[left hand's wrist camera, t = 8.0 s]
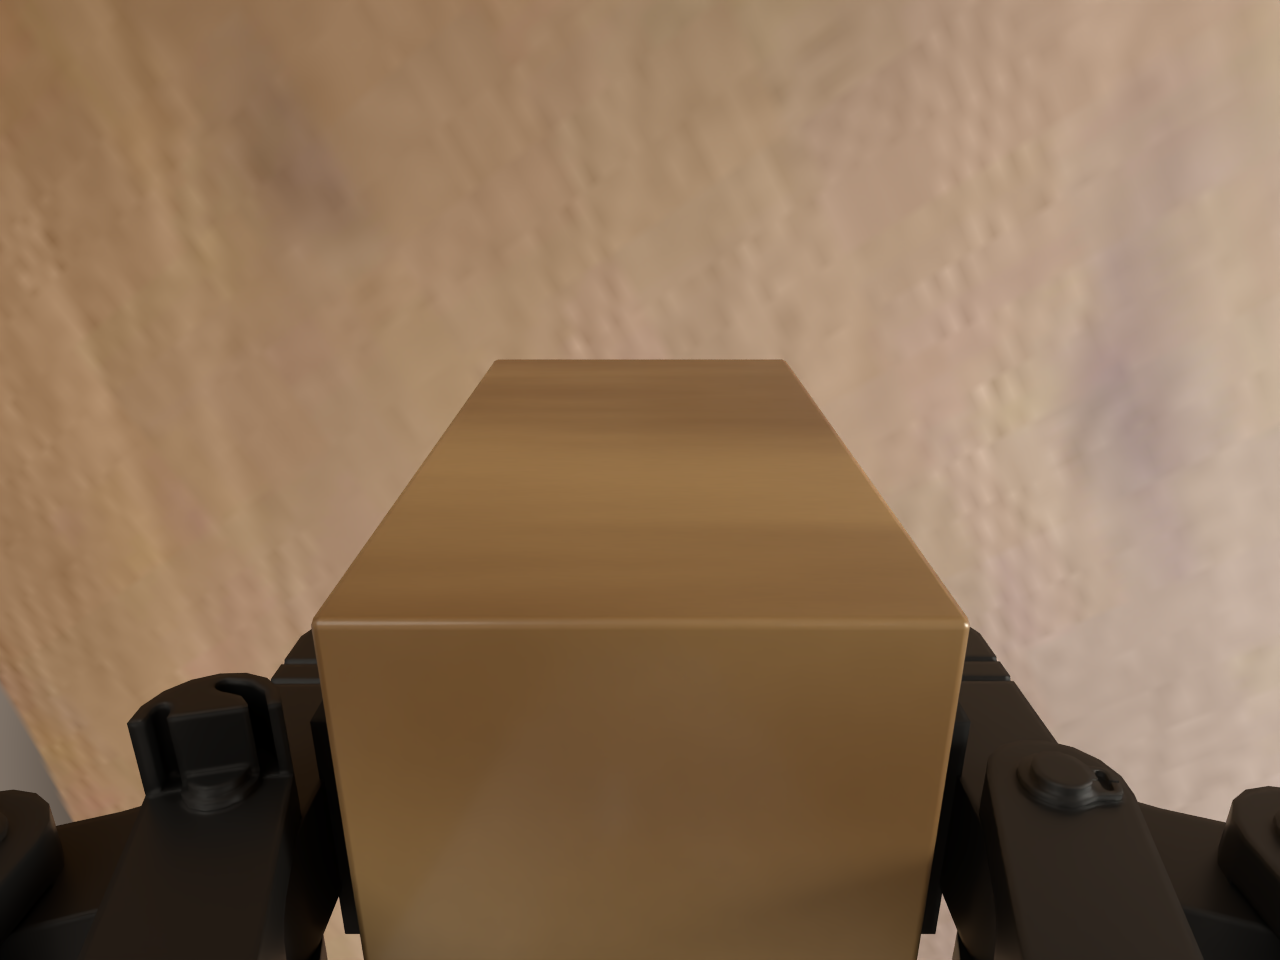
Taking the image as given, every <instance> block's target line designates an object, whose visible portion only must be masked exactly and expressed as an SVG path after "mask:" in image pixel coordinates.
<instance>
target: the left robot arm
mask: <svg viewBox="0 0 1280 960" xmlns="http://www.w3.org/2000/svg"><path fill="white" fill-rule="evenodd" d="M127 725H128V729H129V733H130V737H131V741H132V745H133V749H134V752H135V756H136V760H137V764H138V768H139V772H140V776H141V779H142V783H143V787H144V791H145V795H146V796H145V799H144V801H143V804H142V806H140V807H136V808H133V809H129V810H126V811H122V812H118V813H114V814H109V815H104V816H100V817H95V818H91V819H86V820H82V821H77V822H72V823H68V824H64V825H59V826H56V825H55V822H54V818H53V815H52V812H51V809H50V806H49V804H48V803H47V802H46V801H45V800H44V799H42V798H41V797H40V796H39V795H38V794H36V793H31V792H25V791H18V790H7V791H0V960H327V953H326V947H325V941H324V935H323V934H324V931H325V929H326V926H327V924H328V921H329V919H330V917H331V914H332V912H333V909H334V907H335V904H336V902H337V899H338V897H339V899H340V905H341V911H342V917H343V923H344V929H345V934H360V931H359V925H358V918H357V912H356V906H355V899H354V893H353V887H352V880H351V874H350V868H349V861H348V855H347V849H346V843H345V836H344V830H343V824H342V817H341V811H340V805H339V798H338V792H337V786H336V779H335V773H334V767H333V760H332V754H331V748H330V741H329V735H328V729H327V723H326V716H325V710H324V704H323V697H322V691H321V685H320V678H319V672H318V666H317V659H316V653H315V647H314V640H313V634H312V629H311V630H310V631H308V632H307V633H305V634H304V635H302V636H301V637H300V639H299V640H298V641H297V643H296V644H295V646H294V647H293V649H292V650H291V651H290V653H289V654H288V656H287V657H286V659H285V663H284V664H281V666H280V667H279V668H278V670H277V671H276V673H275V674H274V676H273V677H272V678H271V681H270V680H269V679H268V678H265V677H261V676H257V675H253V674H249V673H224V674H216V675H212V676H207V677H202V678H198V679H193V680H190V681H188V682H185V683H183V684H180V685H178V686H175V687H173V688H171V689H168V690H166V691H164V692H162V693H161V694H159V695H158V696H156V697H155V698H153V699H152V700H150V701H149V702H147V703H146V704H144V705H143V706H141V707H140V708H139V710H138V711H137V712H136V713H135V714H134V716H133V717H132V718H131V719H130V720H129V722H128V723H127ZM942 894H943V896H944V899H945V901H946V903H947V906H948V908H949V911H950V913H951V916H952V918H953V921H954V923H955V926H956V928H957V935H956V941H955V947H954V952H953V958H952V960H1280V787H1272V786H1266V787H1260V788H1253V789H1247V790H1245V791H1244V792H1242V793H1241V794H1240V795H1239V796H1237V797H1236V798H1235V799H1234V800H1233V802H1232V805H1231V808H1230V811H1229V814H1228V818H1227V821H1226V823H1225V822H1220V821H1216V820H1211V819H1207V818H1202V817H1197V816H1193V815H1188V814H1184V813H1179V812H1174V811H1170V810H1165V809H1161V808H1157V807H1154V806H1150V805H1147V804H1143V803H1139V802H1137V800H1136V797H1135V795H1134V794H1133V792H1132V791H1131V789H1130V788H1129V786H1128V785H1127V784H1126V782H1125V781H1124V779H1123V778H1122V777H1121V776H1120V775H1119V774H1118V773H1116V772H1115V771H1114V770H1112V769H1111V768H1110V767H1109V766H1107V765H1106V764H1105V763H1103V762H1102V761H1101V760H1099V759H1097V758H1095V757H1093V756H1091V755H1088V754H1086V753H1084V752H1082V751H1080V750H1078V749H1076V748H1074V747H1070V746H1066V745H1062V744H1058V743H1057V742H1056V740H1055V739H1054V737H1053V736H1052V734H1051V733H1050V732H1049V730H1048V729H1047V727H1046V726H1045V725H1044V723H1043V722H1042V720H1041V719H1040V718H1039V716H1038V715H1037V713H1036V712H1035V711H1034V709H1033V708H1032V706H1031V705H1030V703H1029V702H1028V701H1027V699H1026V698H1025V696H1024V695H1023V694H1022V692H1021V691H1020V689H1019V688H1018V687H1017V685H1016V684H1015V682H1014V681H1010V675H1009V674H1008V672H1007V671H1006V670H1005V668H1004V667H1003V665H1002V664H1001V663H1000V662H997V660H996V656H995V654H994V653H993V651H992V650H991V649H990V647H989V646H988V644H987V643H986V641H985V640H984V639H983V637H982V636H981V634H980V633H978V632H977V631H975V630H974V629H972V628H971V627H970V628H969V635H968V641H967V648H966V654H965V660H964V667H963V673H962V679H961V685H960V692H959V698H958V704H957V711H956V717H955V723H954V729H953V736H952V742H951V748H950V755H949V761H948V767H947V773H946V780H945V786H944V792H943V799H942V805H941V811H940V817H939V824H938V830H937V836H936V843H935V849H934V855H933V861H932V868H931V874H930V880H929V887H928V893H927V899H926V905H925V912H924V918H923V924H922V931H921V934H935V933H936V927H937V921H938V915H939V909H940V903H941V897H942Z"/></svg>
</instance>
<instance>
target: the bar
mask: <svg viewBox="0 0 1280 960" xmlns="http://www.w3.org/2000/svg"><path fill="white" fill-rule="evenodd" d="M311 627H312V634H313V640H314V647H315V653H316V659H317V666H318V672H319V678H320V685H321V691H322V697H323V704H324V710H325V716H326V723H327V729H328V735H329V741H330V748H331V754H332V760H333V767H334V773H335V779H336V786H337V792H338V798H339V805H340V811H341V817H342V824H343V830H344V836H345V843H346V849H347V855H348V861H349V868H350V874H351V880H352V887H353V893H354V899H355V906H356V912H357V918H358V925H359V931H360V937H361V944H362V950H363V956H364V960H917V956H918V949H919V943H920V937H921V931H922V924H923V918H924V912H925V905H926V899H927V893H928V887H929V880H930V874H931V868H932V861H933V855H934V849H935V843H936V836H937V830H938V824H939V817H940V811H941V805H942V799H943V792H944V786H945V780H946V773H947V767H948V761H949V755H950V748H951V742H952V736H953V729H954V723H955V717H956V711H957V704H958V698H959V692H960V685H961V679H962V673H963V667H964V660H965V654H966V648H967V641H968V635H969V628H970V624H969V621H968V618H967V616H966V615H965V614H964V612H963V611H962V609H961V608H960V607H959V605H958V604H957V602H956V601H955V599H954V598H953V597H952V595H951V594H950V592H949V591H948V590H947V588H946V587H945V585H944V584H943V583H942V581H941V580H940V578H939V577H938V575H937V574H936V573H935V571H934V570H933V568H932V567H931V566H930V564H929V563H928V561H927V560H926V559H925V557H924V556H923V554H922V553H921V551H920V550H919V549H918V547H917V546H916V544H915V543H914V542H913V540H912V539H911V537H910V536H909V535H908V533H907V532H906V530H905V529H904V528H903V526H902V525H901V523H900V522H899V520H898V519H897V518H896V516H895V515H894V513H893V512H892V511H891V509H890V508H889V506H888V505H887V504H886V502H885V501H884V499H883V498H882V496H881V495H880V494H879V492H878V491H877V489H876V488H875V487H874V485H873V484H872V482H871V481H870V480H869V478H868V477H867V475H866V474H865V472H864V471H863V470H862V468H861V467H860V465H859V464H858V463H857V461H856V460H855V458H854V457H853V456H852V454H851V453H850V451H849V450H848V449H847V447H846V446H845V444H844V443H843V441H842V440H841V439H840V437H839V436H838V434H837V433H836V432H835V430H834V429H833V427H832V426H831V425H830V423H829V422H828V420H827V419H826V417H825V416H824V415H823V413H822V412H821V410H820V409H819V408H818V406H817V405H816V403H815V402H814V401H813V399H812V398H811V396H810V395H809V393H808V392H807V391H806V389H805V388H804V386H803V385H802V384H801V382H800V381H799V379H798V378H797V377H796V375H795V374H794V372H793V371H792V370H791V368H790V367H789V365H788V364H787V362H786V361H784V360H496V361H495V362H494V363H493V365H492V366H491V367H490V369H489V370H488V372H487V373H486V374H485V376H484V377H483V379H482V380H481V381H480V383H479V384H478V386H477V387H476V389H475V390H474V391H473V393H472V394H471V396H470V397H469V398H468V400H467V401H466V403H465V404H464V406H463V407H462V408H461V410H460V411H459V413H458V414H457V415H456V417H455V418H454V420H453V421H452V423H451V424H450V425H449V427H448V428H447V430H446V431H445V432H444V434H443V435H442V437H441V438H440V440H439V441H438V442H437V444H436V445H435V447H434V448H433V449H432V451H431V452H430V454H429V455H428V457H427V458H426V459H425V461H424V462H423V464H422V465H421V466H420V468H419V469H418V471H417V472H416V474H415V475H414V476H413V478H412V479H411V481H410V482H409V483H408V485H407V486H406V488H405V489H404V491H403V492H402V493H401V495H400V496H399V498H398V499H397V500H396V502H395V503H394V505H393V506H392V508H391V509H390V510H389V512H388V513H387V515H386V516H385V517H384V519H383V520H382V522H381V523H380V525H379V526H378V527H377V529H376V530H375V532H374V533H373V534H372V536H371V537H370V539H369V540H368V542H367V543H366V544H365V546H364V547H363V549H362V550H361V551H360V553H359V554H358V556H357V557H356V559H355V560H354V561H353V563H352V564H351V566H350V567H349V568H348V570H347V571H346V573H345V574H344V576H343V577H342V578H341V580H340V581H339V583H338V584H337V585H336V587H335V588H334V590H333V591H332V592H331V594H330V595H329V597H328V598H327V600H326V601H325V602H324V604H323V605H322V607H321V608H320V609H319V611H318V612H317V614H316V615H315V617H314V618H313V621H312V624H311Z"/></svg>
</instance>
